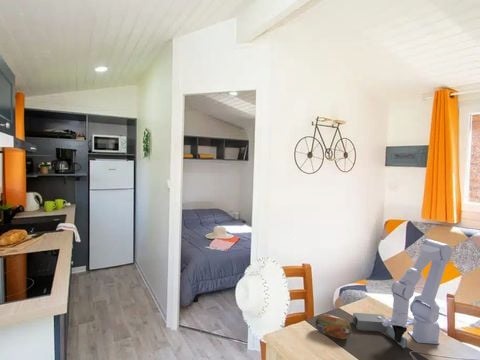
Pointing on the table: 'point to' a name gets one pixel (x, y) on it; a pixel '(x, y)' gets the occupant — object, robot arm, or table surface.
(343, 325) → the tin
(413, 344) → the table surface
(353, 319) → the camcorder
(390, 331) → the side door
